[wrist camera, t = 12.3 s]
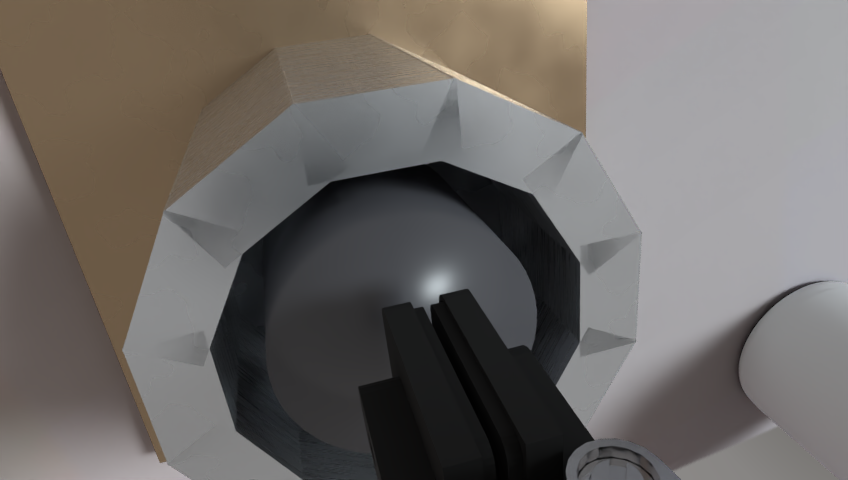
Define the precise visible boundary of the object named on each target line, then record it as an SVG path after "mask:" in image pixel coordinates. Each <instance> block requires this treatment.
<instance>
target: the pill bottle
mask: <svg viewBox="0 0 848 480" xmlns="http://www.w3.org/2000/svg"><path fill="white" fill-rule="evenodd" d="M739 379H740V383H741V386H742V388H743V390H744V392H745V394H746V395H747V396H748V398H749V399H750V400H751V401H752V402H753V403H754V404H755V405H756V407H757V408H758V409H759V410H761V411H762V412H763V413H764V414H765V415H766V416H767V417H769V418H770V419H771V420H772V421H773V422H774V423H775V424H776V425H778V426H779V427H780V428H781V429H782V430H783V431H784V432H786V433H787V434H788V435H789V436H790V437H791V438H792V439H794V440H795V441H796V442H797V443H798V444H799V445H800V446H802V447H803V448H804V449H805V450H806V451H807V452H808V453H809V454H811V455H812V456H813V457H814V458H815V459H816V460H817V461H819V462H820V463H821V464H822V465H823V466H824V467H825V468H826V469H828V470H829V471H830V472H831V473H832V474H833V475H834V476H835V477H837V478H838V479H839V480H848V283H844V282H837V281H825V282H818V283H814V284H811V285H808V286H805V287H803V288H800V289H798V290H796V291H795V292H793V293H791V294H789V295H788V296H786V297H785V298H783V299H782V300H781V301H779V302H778V303H777V304H776V305H774V306H773V307H772V308H771V309H770V310H769V311H768V312H767V313H766V314H765V315H764V316H763V317H762V318H761V320H760V321H759V322H758V323H757V325H756V326H755V327H754V329H753V330H752V332H751V334H750V335H749V337H748V339H747V341H746V343H745V345H744V348H743V350H742V353H741V357H740V362H739Z"/></svg>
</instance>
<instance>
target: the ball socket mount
mask: <svg viewBox="0 0 848 480" xmlns="http://www.w3.org/2000/svg"><path fill="white" fill-rule="evenodd" d="M586 45H587V0H0V69H1V72H2V74H3V77H4V79H5V82H6V84H7V87H8V89H9V92H10V94H11V97H12V99H13V101H14V104H15V106H16V109H17V111H18V114H19V116H20V119H21V121H22V124H23V126H24V129H25V131H26V133H27V136H28V138H29V141H30V143H31V146H32V148H33V151H34V153H35V156H36V158H37V161H38V163H39V166H40V168H41V170H42V173H43V175H44V178H45V180H46V183H47V185H48V188H49V190H50V193H51V195H52V198H53V200H54V203H55V205H56V207H57V210H58V212H59V215H60V217H61V220H62V222H63V225H64V227H65V230H66V232H67V235H68V237H69V239H70V242H71V244H72V247H73V249H74V252H75V254H76V257H77V259H78V262H79V264H80V267H81V269H82V272H83V274H84V276H85V279H86V281H87V284H88V286H89V289H90V291H91V294H92V296H93V299H94V301H95V304H96V306H97V308H98V311H99V313H100V316H101V318H102V321H103V323H104V326H105V328H106V331H107V333H108V336H109V338H110V341H111V343H112V345H113V348H114V350H115V353H116V355H117V358H118V360H119V363H120V365H121V368H122V370H123V373H124V375H125V377H126V380H127V382H128V385H129V387H130V390H131V392H132V395H133V397H134V400H135V402H136V405H137V407H138V410H139V412H140V414H141V417H142V419H143V422H144V424H145V427H146V429H147V432H148V434H149V437H150V439H151V442H152V444H153V447H154V449H155V451H156V454H157V456H158V459H159V461H160V463H162V462H166V461H167V464H168V465H170V466H171V467H173V468H174V469H176V470H177V471H179V472H180V473H182V474H184V475H185V476H187V477H188V478H190V479H191V480H377V476H376V471H375V467H374V463H373V459H372V454H371V453H360V452H355V451H350V450H345V449H342V448H339V447H336V446H333V445H330V444H328V443H326V442H324V441H321V440H319V439H317V438H315V437H314V436H312V435H311V434H309V433H308V432H306V431H305V430H303V429H302V428H301V427H300V426H299V425H298V424H297V423H296V422H294V421H293V420H292V419H291V417H290V416H289V415H288V414H287V412H286V411H285V410H284V409H283V408H282V406H281V404H280V402H279V401H278V399H277V397H276V396H275V393H274V391H273V388H272V386H271V383H270V380H269V375H268V370H267V365H266V341H265V312H264V282H263V253H262V247H263V238H264V236H265V235H266V234H267V233H268V232H270V231H271V230H272V229H273V228H275V227H276V226H277V225H278V224H279V223H281V222H282V221H283V220H284V219H286V218H287V217H288V216H289V215H290V214H292V213H293V212H294V211H295V210H297V209H298V208H299V207H300V206H301V205H303V204H304V203H305V202H306V201H308V200H309V199H310V198H311V197H312V196H314V195H315V194H316V193H317V192H319V191H320V190H321V189H322V188H323V187H325V186H326V185H327V184H328V183H330V182H331V181H336V180H342V179H347V178H352V177H358V176H363V175H368V174H374V173H379V172H384V171H390V170H395V169H400V168H406V167H411V166H416V165H422V164H426V165H428V166H429V167H431V168H432V169H433V170H435V171H436V172H437V173H438V174H439V175H441V176H442V177H443V179H444V180H445V181H446V182H447V183H448V184H449V185H450V186H451V187H452V188H453V189H454V190H455V191H456V192H457V194H458V195H459V196H460V197H461V198H462V199H463V200H464V201H465V202H466V203H467V204H468V205H469V206H470V207H471V209H472V210H473V211H474V212H475V213H476V214H477V215H478V216H479V217H480V218H481V219H482V220H483V221H484V222H485V224H486V225H487V226H488V227H489V228H490V229H491V230H492V231H493V232H494V233H495V234H496V235H497V236H498V237H499V239H500V240H501V241H502V242H503V243H504V244H505V245H506V246H507V247H508V248H509V249H510V250H511V252H512V253H513V254H514V255H515V256H516V257H517V258H518V260H519V261H520V263H521V264H522V266H523V267H524V269H525V271H526V273H527V275H528V277H529V279H530V282H531V284H532V288H533V291H534V295H535V300H536V308H537V327H536V333H535V339H534V343H533V347H532V350H531V351H532V353H533V354H534V356H535V357H536V358H537V360H538V361H539V363H540V364H541V366H542V367H543V368H544V370H545V371H546V373H547V374H548V375H549V377H550V378H551V380H552V381H553V382H554V384H555V385H556V387H557V388H558V390H559V391H560V392H561V394H562V395H563V397H564V398H565V399H566V401H567V402H568V404H569V405H570V407H571V408H572V409H573V411H574V412H575V414H576V415H577V416H578V418H579V419H580V421H581V422H582V423H583V425H584V426H585V427H586V425H587V424H588V422H589V420H590V419H591V417H592V415H593V414H594V412H595V410H596V408H597V407H598V405H599V403H600V402H601V400H602V398H603V396H604V395H605V393H606V391H607V390H608V388H609V386H610V385H611V383H612V381H613V379H614V378H615V376H616V374H617V373H618V371H619V369H620V367H621V366H622V364H623V362H624V361H625V359H626V357H627V356H628V354H629V352H630V350H631V349H632V347H633V345H634V344H635V342H636V328H637V310H638V292H639V274H640V256H641V237H642V232H641V231H640V229H639V227H638V226H637V224H636V222H635V221H634V219H633V217H632V216H631V214H630V212H629V211H628V209H627V207H626V206H625V204H624V202H623V201H622V199H621V197H620V195H619V194H618V192H617V190H616V189H615V187H614V185H613V184H612V182H611V180H610V179H609V177H608V175H607V174H606V172H605V170H604V169H603V167H602V165H601V164H600V162H599V160H598V158H597V157H596V155H595V153H594V152H593V150H592V148H591V147H590V145H589V143H588V142H587V140H586Z"/></svg>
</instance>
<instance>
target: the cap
mask: <svg viewBox="0 0 848 480" xmlns="http://www.w3.org/2000/svg"><path fill="white" fill-rule="evenodd" d="M262 253H263V282H264V312H265V341H266V365H267V370H268V375H269V380H270V383H271V386H272V388H273V391H274V393H275V396H276V397H277V399H278V401H279V402H280V404H281V406H282V408H283V409H284V410H285V411H286V412H287V414H288V415H289V416H290V417H291V419H292V420H293V421H294V422H296V423H297V424H298V425H299V426H300V427H301V428H302V429H303V430H305V431H306V432H308V433H309V434H311V435H312V436H314V437H315V438H317V439H319V440H321V441H324V442H326V443H328V444H330V445H333V446H336V447H339V448H342V449H345V450H350V451H355V452H360V453H371V450H370V445H369V441H368V436H367V431H366V427H365V422H364V417H363V412H362V407H361V401H360V396H359V391H358V386H362V385H366V384H370V383H374V382H378V381H382V380H386V379H390V378H392V373H391V367H390V360H389V354H388V348H387V342H386V335H385V329H384V323H383V316H382V308H384V307H389V306H393V305H398V304H402V303H406V302H411V304H412V306H413V308H419V307H423V308H424V309H425V311H426V313H427V315H428V317H429V320H430V322H431V324H432V320H431V311H430V306H431V305H432V304H436V303H439V296H440V295H441V294H446V293H450V292H454V291H459V290H463V289H469V290H470V292H471V293H472V295H473V296H474V298H475V299H476V301H477V302H478V304H479V305H480V307H481V309H482V310H483V312H484V313H485V315H486V316H487V318H488V319H489V321H490V322H491V324H492V325H493V327H494V328H495V330H496V332H497V333H498V335H499V336H500V338H501V339H502V341H503V342H504V344H505V345H506V347H507V348H508V349H509V348H513V347H517V346H521V345H525V346H527V347H528V348H529V349H530V350H532V347H533V343H534V339H535V333H536V327H537V308H536V300H535V295H534V291H533V288H532V284H531V282H530V279H529V277H528V275H527V273H526V271H525V269H524V267H523V266H522V264H521V263H520V261H519V260H518V258H517V257H516V256H515V255H514V254H513V253H512V252H511V250H510V249H509V248H508V247H507V246H506V245H505V244H504V243H503V242H502V241H501V240H500V239H499V237H498V236H497V235H496V234H495V233H494V232H493V231H492V230H491V229H490V228H489V227H488V226H487V225H486V224H485V222H484V221H483V220H482V219H481V218H480V217H479V216H478V215H477V214H476V213H475V212H474V211H473V210H472V209H471V207H470V206H469V205H468V204H467V203H466V202H465V201H464V200H463V199H462V198H461V197H460V196H459V195H458V194H457V192H456V191H455V190H454V189H453V188H452V187H451V186H450V185H449V184H448V183H447V182H446V181H445V180H444V179H443V177H442V176H441V175H439V174H438V173H437V172H436V171H435V170H433V169H432V168H431V167H429V166H428V165H426V164H422V165H416V166H411V167H406V168H400V169H395V170H390V171H384V172H379V173H374V174H368V175H363V176H358V177H352V178H347V179H342V180H336V181H331V182H330V183H328V184H327V185H326V186H325V187H323V188H322V189H321V190H320V191H319V192H317V193H316V194H315V195H314V196H312V197H311V198H310V199H309V200H308V201H306V202H305V203H304V204H303V205H301V206H300V207H299V208H298V209H297V210H295V211H294V212H293V213H292V214H290V215H289V216H288V217H287V218H286V219H284V220H283V221H282V222H281V223H279V224H278V225H277V226H276V227H275V228H273V229H272V230H271V231H270V232H268V233H267V234H266V235H265V236H264V238H263V247H262Z"/></svg>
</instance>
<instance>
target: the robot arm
mask: <svg viewBox="0 0 848 480" xmlns="http://www.w3.org/2000/svg"><path fill="white" fill-rule="evenodd" d="M430 311H431V320H432V324H431V322H430V320H429V317H428V315H427V313H426V311H425V309H424V308H423V307H419V308H413V306H412V304H411V302H406V303H402V304H398V305H393V306H389V307H384V308H382V316H383V323H384V329H385V335H386V342H387V348H388V354H389V360H390V367H391V373H392V378H390V379H386V380H382V381H378V382H374V383H370V384H366V385H362V386H358V391H359V396H360V401H361V407H362V412H363V417H364V422H365V427H366V431H367V436H368V441H369V445H370V450H371V454H372V459H373V463H374V467H375V471H376V476H377V480H681V479H680V478H679V477H678V476H677V475H676V474H675V473H674V472H673V471H672V470H671V469H670V468H669V467H668V466H666V465H665V464H664V463H663V462H662V461H661V460H660V459H659V458H658V457H657V456H655V455H654V454H653V453H651V452H650V451H649V450H647V449H646V448H644V447H642V446H639V445H637V444H635V443H633V442H630V441H625V440H620V439H615V438H614V439H598V440H594V439H593V438H592V436H591V435H590V433H589V432H588V431H587V429H586V428H585V426H584V425H583V423H582V422H581V421H580V419H579V418H578V416H577V415H576V414H575V412H574V411H573V409H572V408H571V407H570V405H569V404H568V402H567V401H566V399H565V398H564V397H563V395H562V394H561V392H560V391H559V390H558V388H557V387H556V385H555V384H554V382H553V381H552V380H551V378H550V377H549V375H548V374H547V373H546V371H545V370H544V368H543V367H542V366H541V364H540V363H539V361H538V360H537V358H536V357H535V356H534V354H533V353H532V351H531V350H530V349H529V348H528V347H527V346H525V345H521V346H517V347H513V348H509V349H508V348H507V347H506V345H505V344H504V342H503V341H502V339H501V338H500V336H499V335H498V333H497V332H496V330H495V328H494V327H493V325H492V324H491V322H490V321H489V319H488V318H487V316H486V315H485V313H484V312H483V310H482V309H481V307H480V305H479V304H478V302H477V301H476V299H475V298H474V296H473V295H472V293H471V292H470V290H469V289H463V290H459V291H454V292H450V293H446V294H441V295H440V296H439V303H436V304H432V305H431V306H430Z"/></svg>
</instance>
